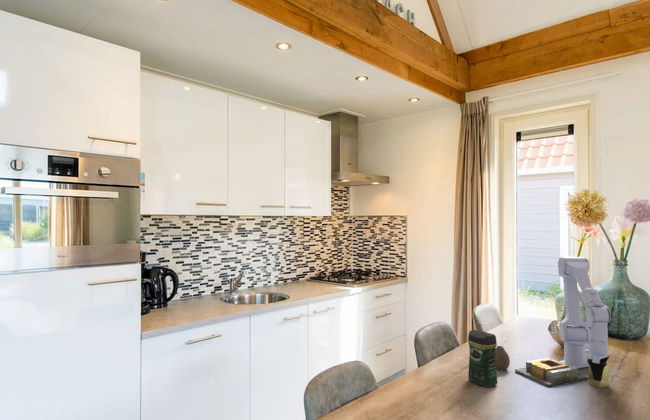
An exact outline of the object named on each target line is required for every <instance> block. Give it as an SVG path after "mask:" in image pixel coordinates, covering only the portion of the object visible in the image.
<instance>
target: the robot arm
mask: <svg viewBox="0 0 650 420" xmlns="http://www.w3.org/2000/svg"><path fill="white" fill-rule="evenodd" d="M557 261H558V262H557V271H558V272H557V273H558V275H559V277H561V278H562V280H563V281H562V282H563V291H564V292H563V293H564V301H565V302H564V304H565V306H564V307H565V315H566V316H565V318H563V319H562V320H561V321H560V322H559V325H558V326H559V327H558V335H559V338H560V340H561V341H562V342H563V355H564V356H563V360H559V361H558V362H561V363H564V364H566V365H569V366H572V367H574V368H577V370H579V369H583V368H587V367H588V368H589V365H590V368H591V370H592V375H593V379H594V380H596V381H601V380H602V375H603V370H604V367H605V366H606V364H607V365H608V363H607V362H608V360H609V358H610V356H609V354H610V353H609V348H608V347H609V345H608V341H609V339H608V337H609V333H608V329H609V328H608V323H610V322H611V320H612V313H611V310H610V308H609V306H606V304H605V303H603V301H602V299H601V297H600V295H599V292H598V290H597V289H595V288H593V286H592V283H591V279H590V276H589V271H590V267H591V266H590V261H589V259H588V258H587V257H586V256H560V257H559V258H558V260H557ZM578 286H579V287H580V290H581V291H580V295H579V289H578ZM579 296H580V297H581V300H582V302H583V305H584V307H585V312H584V316H585V320H586V321H584V320H583V319H581V309H580V300H579V299H580V298H579Z"/></svg>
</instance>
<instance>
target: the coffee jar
mask: <svg viewBox="0 0 650 420" xmlns="http://www.w3.org/2000/svg"><path fill="white" fill-rule="evenodd" d="M467 336H468V337H467V343H468V348H469V362H468V374H467V375H468V380H469V382H472V383H473V384H475V385H478V386H480V387H484V388H487V387H488V388H491V387H492V388H493V387H495V386H497V384H498V373H497V370H496V361H495V349H496V347H497V346H498V341H497V337H496V335H495V334H494V333H490V332H487V331H483V330H480V329H473V330H472V329H471V330H470V331H469V332H468V335H467Z"/></svg>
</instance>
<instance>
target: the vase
mask: <svg viewBox="0 0 650 420" xmlns="http://www.w3.org/2000/svg"><path fill="white" fill-rule="evenodd" d="M495 361H496V371H500V372H501V371H502V372H504V371H506V370H508V369H509V367H510V364H511V363H510V362H511V360H510V356H509V353H508V352H507V351H506V350H505V347H504V346H503V345H497V346H496V349H495Z"/></svg>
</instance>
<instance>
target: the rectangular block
mask: <svg viewBox="0 0 650 420" xmlns="http://www.w3.org/2000/svg"><path fill="white" fill-rule="evenodd" d="M588 384H590V385H593V386H595V387H598V388H606V387H609V364H608V363H607V364H606V366H605V367H604V370H603V375H602V380H601V381H596V380H594V379H593V375H592V370H591V368H590V365H589V367H588Z"/></svg>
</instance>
